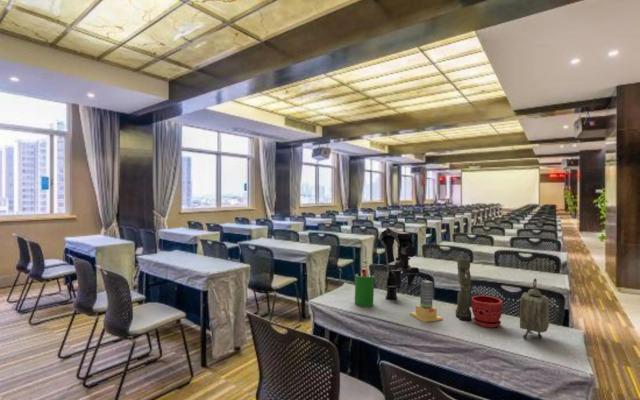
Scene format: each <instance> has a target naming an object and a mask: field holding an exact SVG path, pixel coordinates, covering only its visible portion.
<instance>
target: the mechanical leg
mask: <svg viewBox="0 0 640 400" xmlns="http://www.w3.org/2000/svg"><path fill="white" fill-rule="evenodd" d="M456 263H457V264H456V265H457V277H458V284H459V285H460V291H458V292H457V306H456V309H455V317H456V318H458V319H459V320H460V321H464V322H472V310H471V308H470V307H471V306H470V305H471V294H472V293H471V289H472V288H471V287H472V286H471V285H472V277H471V271H470V268H471V262H470V260H469V259H466V258H465V257H464V258H463V257H462V258H461V257H458V258H457V260H456Z"/></svg>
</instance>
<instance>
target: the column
mask: <svg viewBox="0 0 640 400" xmlns="http://www.w3.org/2000/svg"><path fill="white" fill-rule="evenodd" d="M433 289H434V282H433V281H430V280H428V279H427V280H420V304H419V305H422V306H424V307H434V306H433V298H434V297H433V296H434V295H433V293H434V292H433V291H434V290H433Z"/></svg>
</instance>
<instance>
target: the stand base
mask: <svg viewBox="0 0 640 400" xmlns="http://www.w3.org/2000/svg"><path fill="white" fill-rule="evenodd" d="M437 312H438V308H436V307H435V306H432V307H424V306H422V305H420V304H417V305H415V311H412V312H411V311H410V312H409V315H410V316H412V317H413V318H415V319H417V320H419V321H421V322H423V323H429V322H436V321H443V317H442V316H440V315H438V313H437Z"/></svg>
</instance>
